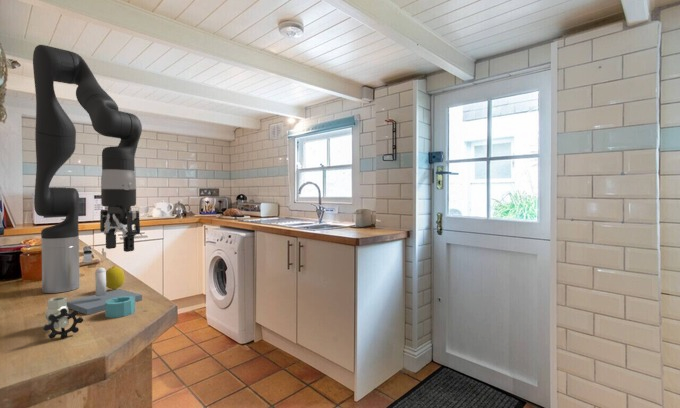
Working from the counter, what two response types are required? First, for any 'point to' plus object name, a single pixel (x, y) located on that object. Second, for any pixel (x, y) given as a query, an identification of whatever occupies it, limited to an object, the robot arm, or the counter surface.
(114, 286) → the lemon
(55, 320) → the valve
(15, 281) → the counter surface
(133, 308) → the collar
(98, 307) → the post stand
